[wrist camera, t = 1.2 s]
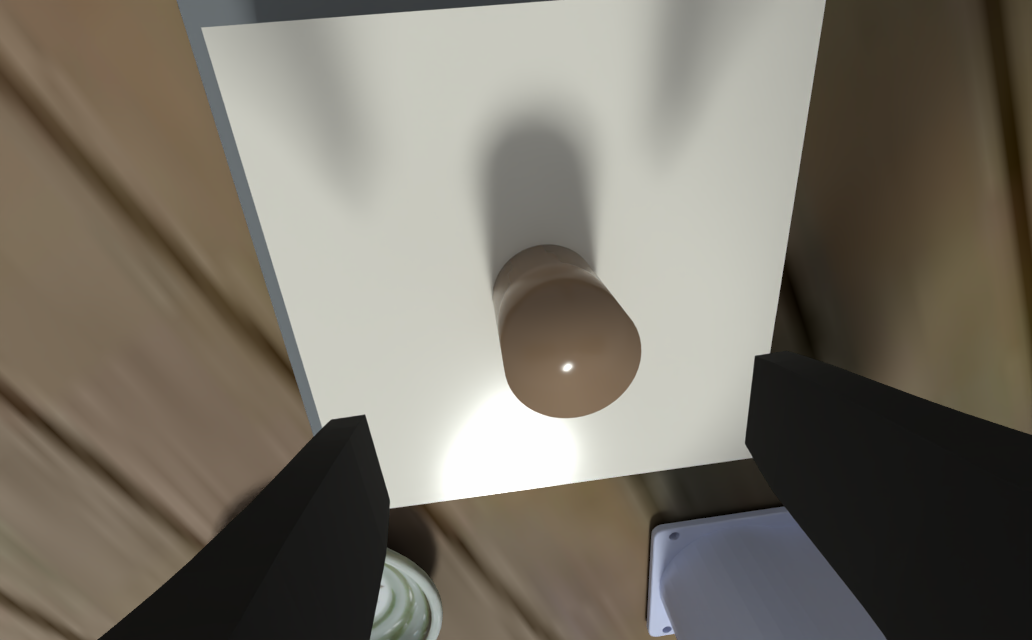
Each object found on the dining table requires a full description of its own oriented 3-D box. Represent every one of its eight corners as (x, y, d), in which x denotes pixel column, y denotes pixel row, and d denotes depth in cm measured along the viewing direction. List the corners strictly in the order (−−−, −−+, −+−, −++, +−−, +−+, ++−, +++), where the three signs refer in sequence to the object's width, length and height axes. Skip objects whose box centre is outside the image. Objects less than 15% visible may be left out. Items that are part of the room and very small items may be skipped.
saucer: (230, 639, 24) (207, 693, 22) (234, 489, 21) (207, 536, 18) (425, 648, 26) (422, 698, 24) (460, 512, 22) (461, 556, 20)
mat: (808, -53, 14) (815, -57, 14) (742, 417, 22) (746, 422, 21) (178, -8, 13) (173, -11, 13) (328, 473, 20) (327, 478, 20)
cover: (746, 5, 15) (987, -71, 8) (706, 400, 21) (825, 546, 14) (261, 43, 14) (75, -7, 7) (366, 445, 20) (319, 624, 13)
